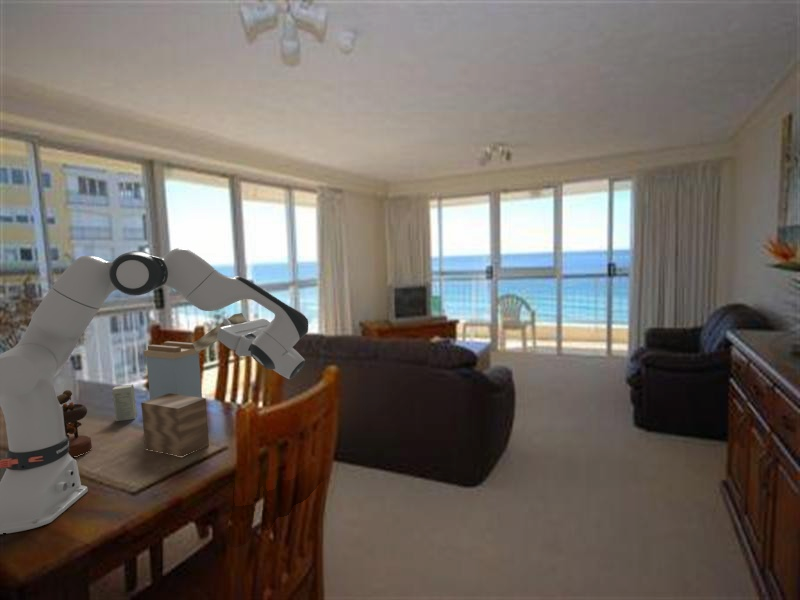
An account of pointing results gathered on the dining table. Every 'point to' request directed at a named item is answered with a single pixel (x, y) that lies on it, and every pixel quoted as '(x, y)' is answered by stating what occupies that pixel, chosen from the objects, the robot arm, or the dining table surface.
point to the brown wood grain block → (175, 424)
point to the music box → (74, 425)
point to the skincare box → (124, 402)
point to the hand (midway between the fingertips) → (231, 319)
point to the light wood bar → (212, 335)
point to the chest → (173, 369)
